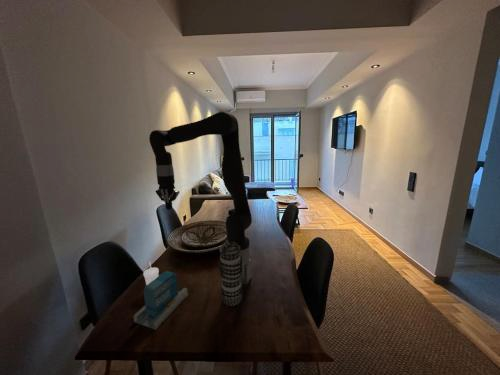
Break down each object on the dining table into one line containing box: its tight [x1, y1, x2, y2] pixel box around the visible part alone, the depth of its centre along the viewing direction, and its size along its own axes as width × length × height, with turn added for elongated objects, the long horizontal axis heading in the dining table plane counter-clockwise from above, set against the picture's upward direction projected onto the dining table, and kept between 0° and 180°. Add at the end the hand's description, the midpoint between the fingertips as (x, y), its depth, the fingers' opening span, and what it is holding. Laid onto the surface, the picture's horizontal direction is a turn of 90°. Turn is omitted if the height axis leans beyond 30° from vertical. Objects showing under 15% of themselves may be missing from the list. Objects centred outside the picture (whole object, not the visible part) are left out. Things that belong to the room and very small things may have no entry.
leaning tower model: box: [218, 241, 244, 307], centre depth 82 cm, size 9×9×25 cm
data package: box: [142, 270, 179, 317], centre depth 80 cm, size 12×4×12 cm, turn 157°
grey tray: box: [133, 287, 189, 331], centre depth 81 cm, size 10×18×4 cm, turn 160°
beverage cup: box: [142, 260, 159, 286], centre depth 90 cm, size 6×6×14 cm
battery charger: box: [227, 208, 235, 216], centre depth 186 cm, size 13×10×4 cm
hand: (169, 209), depth 101 cm, fingers closed
